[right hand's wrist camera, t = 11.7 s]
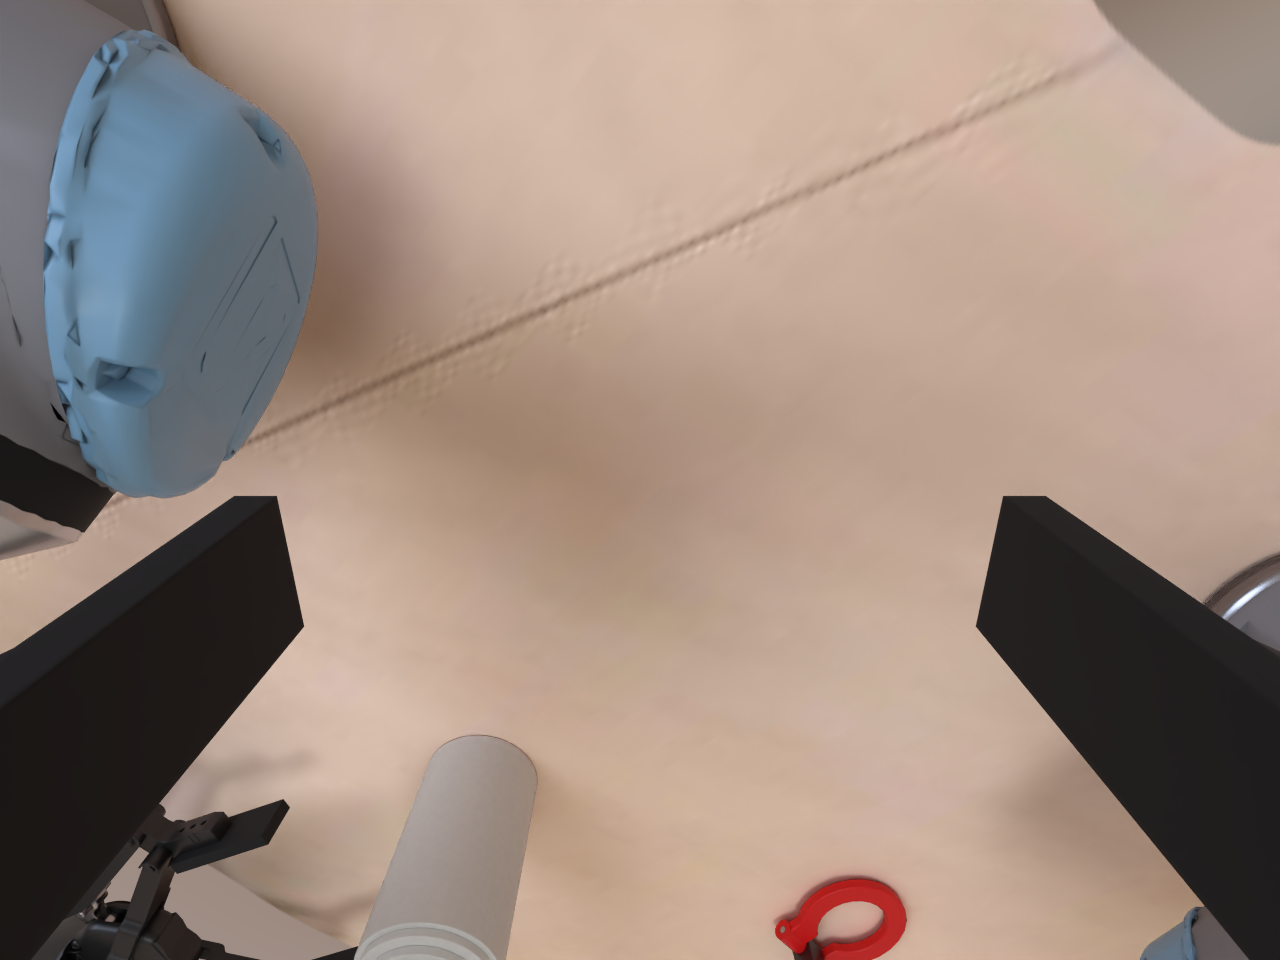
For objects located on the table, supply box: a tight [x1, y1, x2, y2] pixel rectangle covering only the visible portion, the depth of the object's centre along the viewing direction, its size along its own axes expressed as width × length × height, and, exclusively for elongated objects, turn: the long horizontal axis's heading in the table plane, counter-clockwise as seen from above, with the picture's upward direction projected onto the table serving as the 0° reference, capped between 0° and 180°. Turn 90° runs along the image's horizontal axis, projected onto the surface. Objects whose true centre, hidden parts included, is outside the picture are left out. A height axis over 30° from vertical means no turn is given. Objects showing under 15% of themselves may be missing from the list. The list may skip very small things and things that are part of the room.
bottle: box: [354, 735, 537, 960], centre depth 40 cm, size 8×8×18 cm
